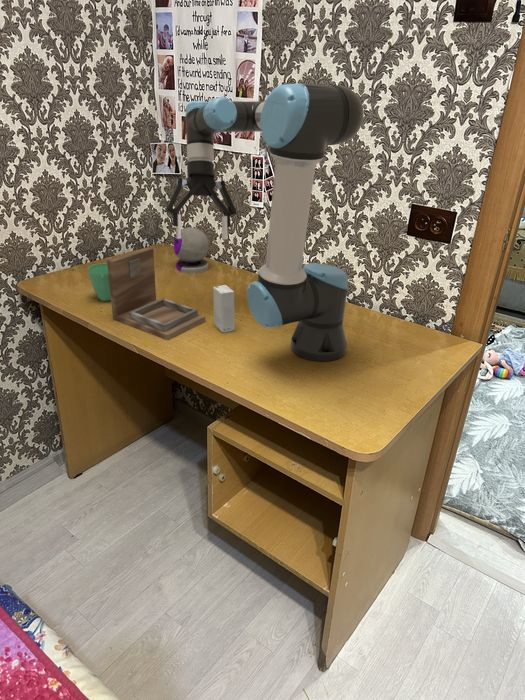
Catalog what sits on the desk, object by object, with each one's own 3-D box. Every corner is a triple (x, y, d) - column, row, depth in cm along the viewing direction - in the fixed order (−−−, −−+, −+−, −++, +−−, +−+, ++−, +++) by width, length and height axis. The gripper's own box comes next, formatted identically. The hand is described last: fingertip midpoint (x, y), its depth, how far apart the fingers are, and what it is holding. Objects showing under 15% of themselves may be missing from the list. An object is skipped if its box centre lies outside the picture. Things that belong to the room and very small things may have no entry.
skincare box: (235, 330, 153) (236, 291, 147) (221, 333, 151) (221, 293, 145) (226, 322, 158) (227, 284, 152) (212, 324, 156) (212, 286, 150)
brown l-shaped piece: (205, 321, 158) (204, 263, 149) (167, 340, 146) (164, 278, 137) (151, 302, 168) (148, 247, 160) (112, 318, 156) (107, 260, 148)
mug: (99, 306, 164) (96, 275, 159) (85, 296, 170) (82, 266, 166) (141, 296, 173) (139, 266, 168) (127, 287, 179) (124, 258, 174)
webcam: (172, 262, 203) (170, 224, 196) (204, 260, 207) (204, 222, 200) (177, 274, 192) (176, 233, 185) (212, 271, 196) (212, 231, 189)
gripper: (237, 167, 157) (238, 240, 160) (153, 161, 148) (156, 238, 151) (246, 162, 150) (247, 238, 153) (158, 155, 141) (161, 237, 144)
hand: (202, 239), depth 152 cm, fingers open, 13 cm apart
